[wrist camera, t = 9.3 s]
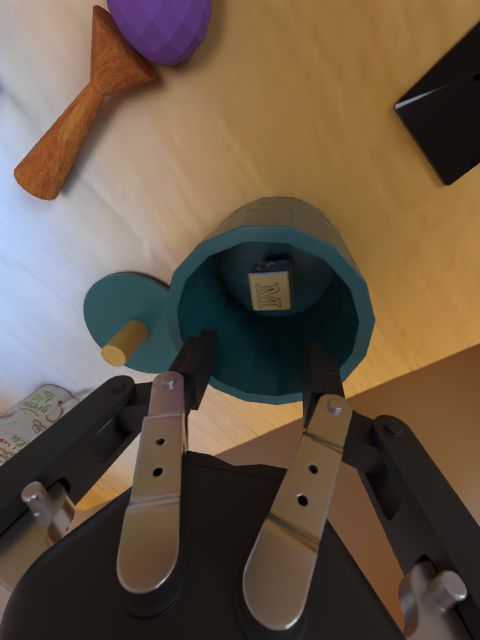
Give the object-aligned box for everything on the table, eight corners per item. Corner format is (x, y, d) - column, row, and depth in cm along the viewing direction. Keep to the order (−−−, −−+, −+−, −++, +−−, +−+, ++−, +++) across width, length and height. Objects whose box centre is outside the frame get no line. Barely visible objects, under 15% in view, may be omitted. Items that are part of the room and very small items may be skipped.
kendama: (-26, 146, 21) (120, -198, 11) (47, 155, 26) (191, -75, 16) (25, 215, 22) (200, -45, 12) (86, 211, 27) (243, 26, 17)
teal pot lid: (94, 250, 28) (48, 271, 23) (211, 301, 29) (193, 333, 24) (86, 342, 35) (50, 374, 30) (181, 381, 36) (161, 420, 31)
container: (239, 171, 22) (196, 183, 13) (370, 232, 23) (426, 288, 13) (198, 292, 29) (149, 361, 19) (302, 337, 29) (305, 426, 20)
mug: (23, 387, 43) (-44, 444, 34) (71, 362, 38) (6, 421, 29) (63, 421, 46) (10, 481, 37) (112, 402, 41) (64, 466, 32)
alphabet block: (292, 258, 22) (287, 271, 19) (295, 294, 23) (290, 310, 21) (255, 261, 23) (246, 273, 20) (260, 295, 24) (251, 311, 22)
